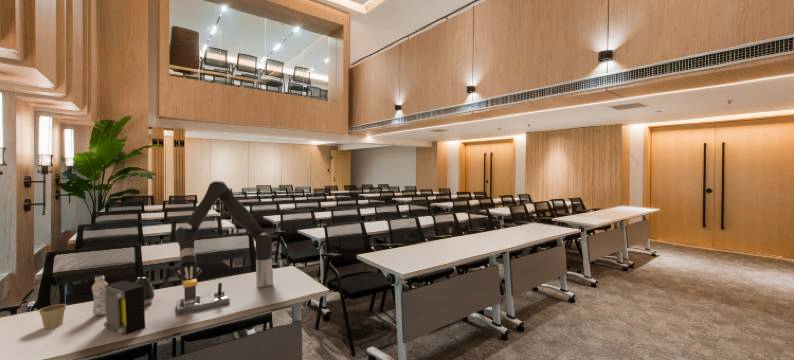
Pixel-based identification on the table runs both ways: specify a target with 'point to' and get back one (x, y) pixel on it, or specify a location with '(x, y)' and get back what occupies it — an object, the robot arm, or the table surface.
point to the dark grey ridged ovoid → (146, 289)
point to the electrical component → (124, 307)
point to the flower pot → (52, 315)
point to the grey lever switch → (203, 302)
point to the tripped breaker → (190, 290)
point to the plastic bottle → (99, 296)
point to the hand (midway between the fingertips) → (189, 286)
